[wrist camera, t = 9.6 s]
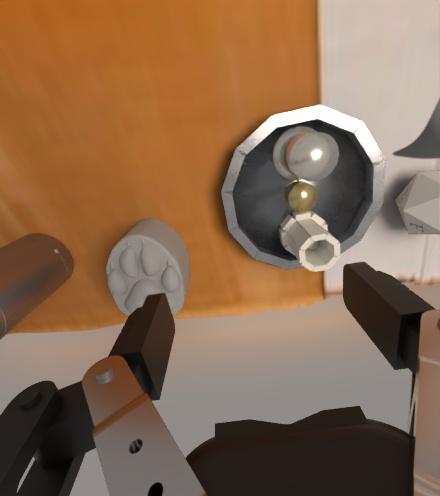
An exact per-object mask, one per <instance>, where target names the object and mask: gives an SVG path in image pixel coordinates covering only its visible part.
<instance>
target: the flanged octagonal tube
mask: <svg viewBox="0 0 440 496" xmlns="http://www.w3.org/2000/svg"><path fill="white" fill-rule="evenodd" d="M280 226H281V227H282V228H281V229H279V234H280V241H281V243H282V245H283V246H284V248H285V249H286V250H287V251H289V252H290V253H292V254H293V255H295V256H296V257H297V259H298V260H299V262H300V264H301V265H302V266H304V267H305V268H307V269H309V270H310V271H313V272H316V271H322V270H328V268H331V267H332V266H333V265H334V264H335V262H336V261H337V260H338V259H339V256H340V243H339V241H338V240H337V239H336V238H335V237H334V236H332V235H331V234H330V233H329V232H328V228H327V224H326V223H325V220H323V219H322V218H321V217H320V216H318V215H317V214H315V213H314V212H313V211H311V210H310V211H307V212H297V211H294V212H293V217H292V216H291V215H289V214H288V216H287V217H286V218H285V219H284V221H283V222H282V223H281V224H280ZM313 241H319V245H318V247H317V248H316V249H314V250H309V249H307V248H308V247H309V245H310V244H311V243H312V242H313Z"/></svg>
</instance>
